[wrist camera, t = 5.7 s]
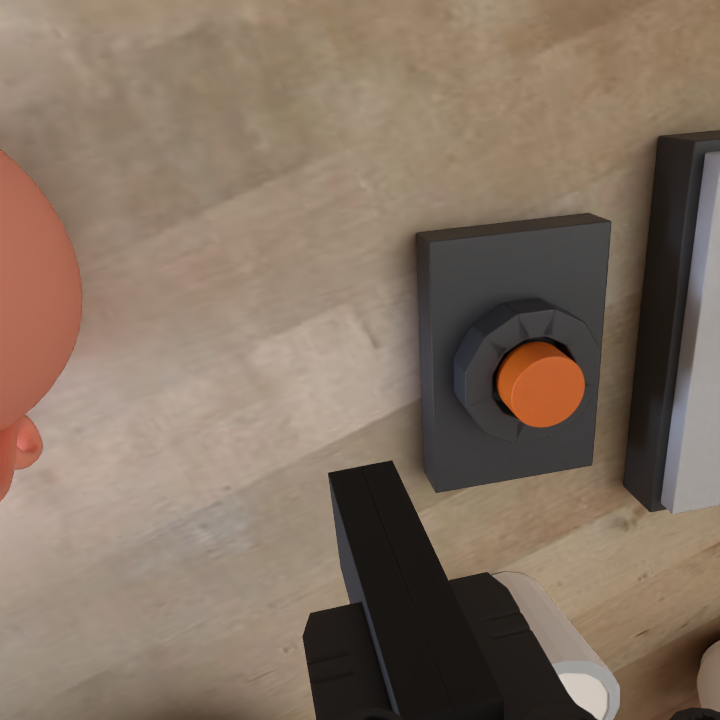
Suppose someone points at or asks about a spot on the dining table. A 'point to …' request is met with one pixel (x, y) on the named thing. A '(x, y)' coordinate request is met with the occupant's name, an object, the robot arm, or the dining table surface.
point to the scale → (679, 334)
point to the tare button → (540, 384)
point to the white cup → (565, 648)
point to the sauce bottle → (710, 678)
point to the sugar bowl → (31, 312)
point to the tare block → (506, 342)
